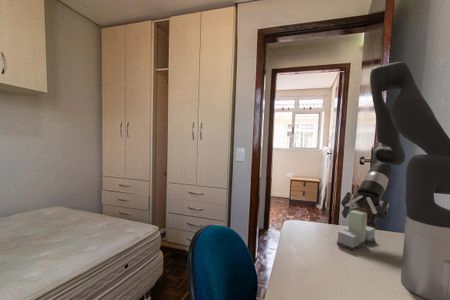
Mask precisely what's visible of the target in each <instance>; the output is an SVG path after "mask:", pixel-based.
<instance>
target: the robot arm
mask: <svg viewBox="0 0 450 300" xmlns="http://www.w3.org/2000/svg"><path fill="white" fill-rule="evenodd" d="M369 85H370V91H371V97H372V105H373V110H374V114H375V119H376V134H377V135H376V138H377V139H376V140H377V142H378V143H380V144H381V145H386V146H378V147H376V148H375V149H374V150H373V152H372V161H371V166H370V168H369V170H368V172H367V173H366V175H365V176H364V177H363V180H362V182H361V184H360V186H359V187H358V190H357V192H356V193H355V194H354V193H353V194H352V193H351V192H350V191H348V192H346V193H345V195H344V197H343V199H342V200H341V202H340V204H341V205H342V207H343V209H342V211H341V214H342V218H344V219H347V217H348V216H349V215H350V211H352V210H354V209H357V208H358V207H359V208H360V209H365V210H371V212H372V213H371V214H370V216H369V218H368V221H367V226H369V227H373V226H374V225H376V222H377V220H378V218H379V219H380V218H381V219H386V217H387V214H388V211H389V208H390V204H389V201H388V200H387V199H384V200H381V199H382V198H383V195H384V194H385V191H386V189H387V186H388V183H389V180H390V178H391V176H392V174H393V167H392V166H401V165H403V163H404V162H405V160H406V153H405V151H404V148H403V145H402V142H401V138H400V135H401V136H403V137H404V138H406V139H407V140H408V141H410V142H411V143H412V144H414V145H416V146H417V147H419V148H420V149H421V150H422V151H424V153H426V154H424V153H421V154H415V155H413V156H412V157H410V159H408V163H407V165H406V169H405V170H406V171H405V208H406V210H405V211H406V214H405V228H404V237H403V250H402V261H401V262H402V263H401V272H400V282H401V284H402V286H403V287H404V288H406V289H407V290H408V291H409V292H412V293H413V294H415V295H417V296H419V297H421V298H424V299H426V300H450V209H448V208H445V207H443V206H441V205H440V204H437V203H436V201H435V194H438V195H439V194H441V195H450V136H448V134H447V133H446V131H445V130H444V128H443V126H442V125H441V124H440V122H439V121H438V119H437V118H436V116H435V113H434V112H433V110H432V108H431V106H430V105H429V103H428V102H427V101H426V99H425V98H424V96H423V95H422V93H421V91H420V89H419V88H418V87H419V86H417V83H416V80H415V78H414V76H413V74H412V71H411V69H410V67H409V65H408V64H407V63H406V62H405V61H397V62H396V61H395V62H391V63H387V64H383V65H379V66H375V67H374V66H373V68H372V69H371V71H370V73H369ZM393 90H400V91H399V94H398V95H397V97H396V98H395V99H394V101H393V103H392V104H391V106H388V104H387V103H386V102H385V100H384V99H385V98H384V97H383V92H387V91H393ZM377 206H380V210H379V211H377V209H376V207H377Z"/></svg>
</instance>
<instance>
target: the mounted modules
mask: <svg viewBox="0 0 450 300" xmlns="http://www.w3.org/2000/svg"><path fill="white" fill-rule="evenodd" d="M375 232H376V228H375V227H373V226H369V225H366V235H365V239H366V240H371V239H373V238H375V234H376V233H375ZM337 241H338V242H340V243H342V244H345V245H347V246H349V247H352V248H353V247H356V246H358V245H359V242H360V234H357V233H354V232H351V231H348V229H342V230H339V231H338V233H337Z"/></svg>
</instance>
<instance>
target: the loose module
mask: <svg viewBox="0 0 450 300" xmlns="http://www.w3.org/2000/svg"><path fill="white" fill-rule="evenodd" d="M348 216H349V218H348V229H347V230H348V231H351V232H354V233H357V234H360V242H359V243H361V242H363V241H365V235H366V226H367V223H368V221H367V219H368V218H367V217H368V212H365V211H361V210H359V209H351V210H350V212H349V215H348Z"/></svg>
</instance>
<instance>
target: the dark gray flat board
mask: <svg viewBox="0 0 450 300" xmlns="http://www.w3.org/2000/svg"><path fill="white" fill-rule="evenodd" d="M375 241H376V238H375V237H374V238H373V239H371V240H366V239H365V241H363V242H361V243H359V245H358V246H356V247H353V248H352V247H349V246H347V245H345V244H342V243H340V242H338V240H337V241H336V245H338V246H340V247H342V248H344V249H348V250H350V251H352V252H355V251H357V250H359V249H361V248H363V247H364V246H365V247H366V246H367V245H369V244H371V243H373V242H375Z"/></svg>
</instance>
